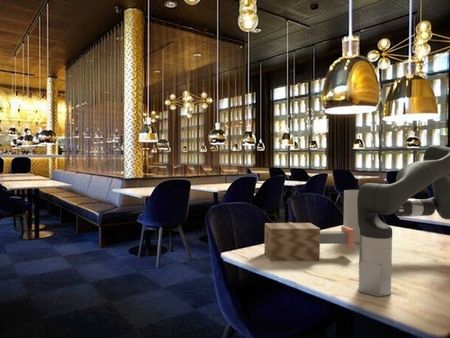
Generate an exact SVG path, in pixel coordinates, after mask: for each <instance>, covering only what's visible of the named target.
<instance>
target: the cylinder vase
mask: <svg viewBox="0 0 450 338" xmlns="http://www.w3.org/2000/svg"><path fill="white" fill-rule="evenodd" d="M358 191H359V189H347V190H346V189H345V190H343V225H342V226H347V227H349V228H351V229H354V244H359V245H360V229H359V226H358V209H357V196H358Z"/></svg>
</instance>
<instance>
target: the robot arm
mask: <svg viewBox="0 0 450 338" xmlns="http://www.w3.org/2000/svg"><path fill="white" fill-rule="evenodd" d="M449 175H450V147H448V146H443V145H438V144H431V145H429V146H428V147H427V148H426V149H425V151H424V152H423V157H422V160H420V161H419V160H418V161H414V162H411V163H409V164H408V165H405V166H404V167H402V168H401V169H400V170H399V171H398V172H397V173H396V176H395V177H396V178H395V182H393V183H387V184H386V183H374V182H366V183H363V184H362V185H361V186H360V187H359V189H358V190H359V191H358V196H357V209H358V226H359V229H360V244H359V247H358V248H359V249H358V251H359V252H358V253H359V254H358V255H359V256H358V291H359V292H360V293H363V294H366V295H370V296H374V297H379V298H381V297H386V296H389V295H390V294H392V267H393V266H392V263H393V261H392V257H393V228H392V226H390V225H389V224H387V223H386V222H384V221H382V220H381V219H380V217H379V215H384V216H387V215H391V214H392V215H393V214H394V215H395V216H396V217H399V218H403V217H406V218H410V217H411V218H412V217H423V216H424V217H428V216H433V215H434V214H435V212H437V215H439V217H440V218H441V219H444V220H447V221H449V220H450V179H449V178H448V177H447V176H449ZM430 185H431V186H432V192H433V196H432V197H430V198H423V199H422V198H420V199H419V198H417V199H416V198H412V197H414V196H415V195H416V194H418V193H419V192H421V191H423V190H425V188H427V187H428V186H430Z"/></svg>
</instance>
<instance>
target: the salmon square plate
mask: <svg viewBox="0 0 450 338" xmlns="http://www.w3.org/2000/svg"><path fill="white" fill-rule="evenodd" d="M323 244H324V245H325V244H326V245H329V244H330V245H331V244H333V245H336V244H337V245H338V244H340V245H341V246H343V247H345V248H346V249H348V250H354V249H355V243H354V229H351V228H349V227H347V226H343V225H341V229H340V230H339V231H330V230H328V231H322V230H320V245H323Z"/></svg>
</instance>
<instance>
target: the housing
mask: <svg viewBox="0 0 450 338" xmlns="http://www.w3.org/2000/svg"><path fill="white" fill-rule="evenodd" d="M320 231H321V228H320V227H318V226H316V225H314V224H313V223H312V222H290V221H289V222H274V223H273V222H265V223H264V255H265V256H266V258H267V259H268V260H269V262H320V258H321V257H320V254H321V252H320V251H321V244H320Z"/></svg>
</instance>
